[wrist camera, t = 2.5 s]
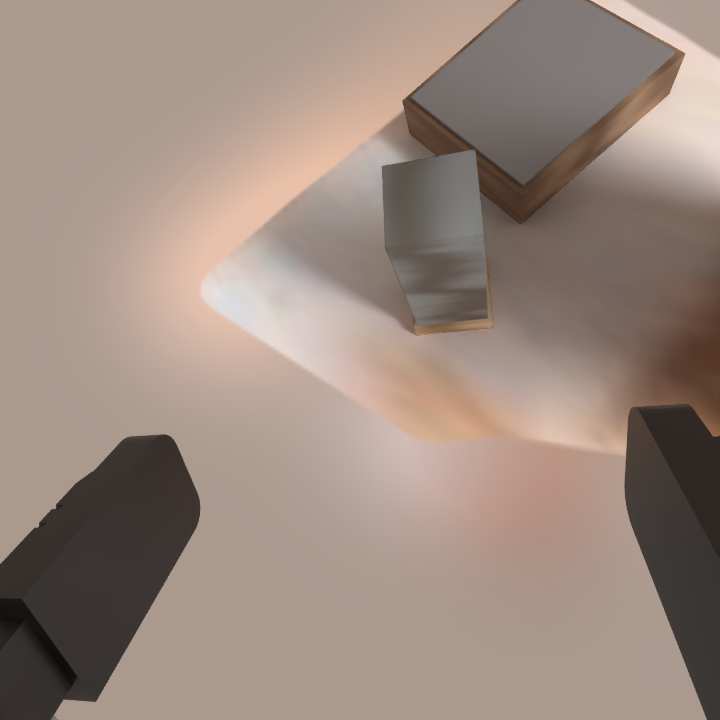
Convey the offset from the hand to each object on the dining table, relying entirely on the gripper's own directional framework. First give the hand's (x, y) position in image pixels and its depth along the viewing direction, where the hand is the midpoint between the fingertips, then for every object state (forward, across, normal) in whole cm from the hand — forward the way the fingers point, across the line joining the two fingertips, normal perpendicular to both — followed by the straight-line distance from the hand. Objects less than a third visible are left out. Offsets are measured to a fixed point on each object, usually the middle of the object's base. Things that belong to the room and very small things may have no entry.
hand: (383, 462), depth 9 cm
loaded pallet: (+30, 0, +9) cm, 31 cm away
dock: (+40, -7, -2) cm, 41 cm away
